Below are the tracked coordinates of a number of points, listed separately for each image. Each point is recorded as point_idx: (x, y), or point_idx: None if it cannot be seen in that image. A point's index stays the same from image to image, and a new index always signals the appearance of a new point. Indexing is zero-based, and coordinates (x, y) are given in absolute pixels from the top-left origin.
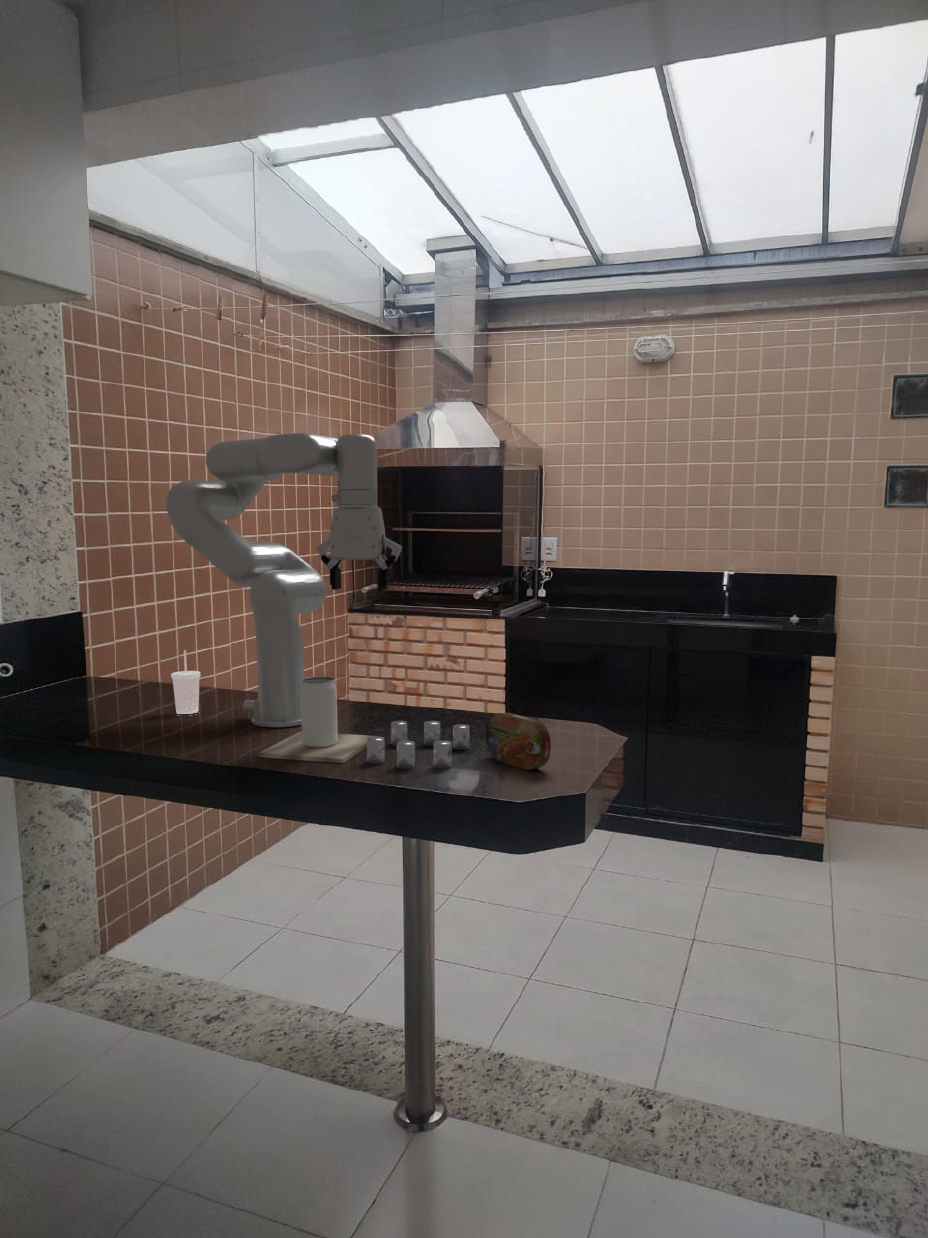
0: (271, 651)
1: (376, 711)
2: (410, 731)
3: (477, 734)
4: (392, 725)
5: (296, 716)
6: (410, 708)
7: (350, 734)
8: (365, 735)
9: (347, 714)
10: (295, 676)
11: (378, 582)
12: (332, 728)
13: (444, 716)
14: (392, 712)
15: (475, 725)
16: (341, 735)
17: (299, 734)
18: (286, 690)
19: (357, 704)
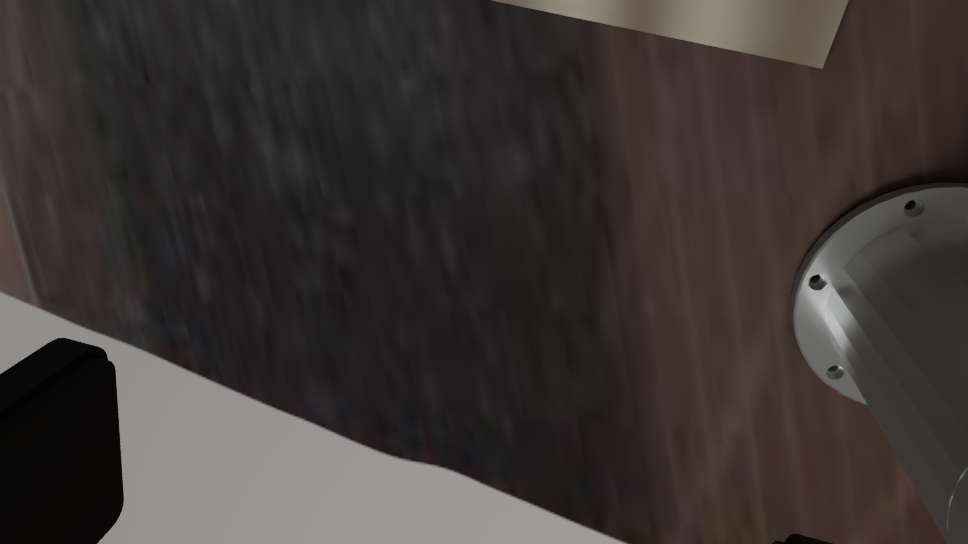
0: None
1: (562, 427)
2: (391, 142)
3: (162, 104)
4: None
5: (861, 255)
6: (453, 458)
7: (595, 20)
8: (532, 7)
9: (662, 392)
10: (931, 339)
11: (30, 411)
12: None
13: (321, 348)
14: (504, 410)
15: (198, 227)
16: (630, 1)
17: (819, 9)
18: (954, 280)
19: (645, 525)
